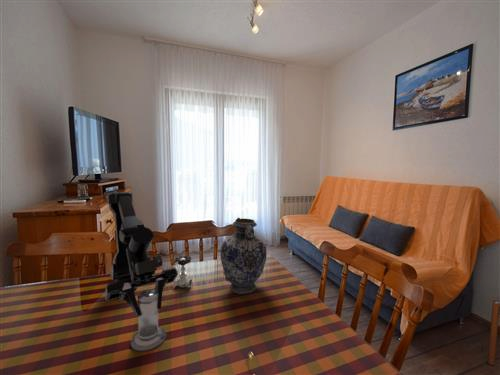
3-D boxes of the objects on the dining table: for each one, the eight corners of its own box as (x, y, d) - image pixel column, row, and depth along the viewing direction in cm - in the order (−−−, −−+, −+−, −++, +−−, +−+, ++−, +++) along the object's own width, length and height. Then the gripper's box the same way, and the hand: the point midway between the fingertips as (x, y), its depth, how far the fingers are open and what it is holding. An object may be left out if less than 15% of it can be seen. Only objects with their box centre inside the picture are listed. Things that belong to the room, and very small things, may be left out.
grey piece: (135, 333, 64) (134, 294, 64) (153, 325, 68) (153, 287, 67) (142, 343, 61) (142, 301, 60) (161, 334, 65) (161, 294, 64)
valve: (186, 292, 90) (186, 262, 89) (171, 290, 91) (171, 260, 91) (194, 284, 97) (194, 256, 96) (179, 282, 98) (179, 254, 97)
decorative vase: (215, 278, 102) (217, 215, 100) (255, 274, 107) (257, 214, 106) (225, 305, 81) (228, 227, 79) (274, 298, 87) (277, 225, 85)
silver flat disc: (123, 344, 62) (123, 340, 62) (150, 324, 71) (150, 321, 70) (146, 356, 59) (146, 351, 58) (172, 334, 67) (172, 330, 67)
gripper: (105, 254, 60) (113, 316, 52) (175, 241, 72) (190, 290, 64) (102, 272, 67) (109, 330, 59) (166, 258, 78) (179, 304, 71)
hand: (149, 312), depth 63 cm, fingers open, 5 cm apart
